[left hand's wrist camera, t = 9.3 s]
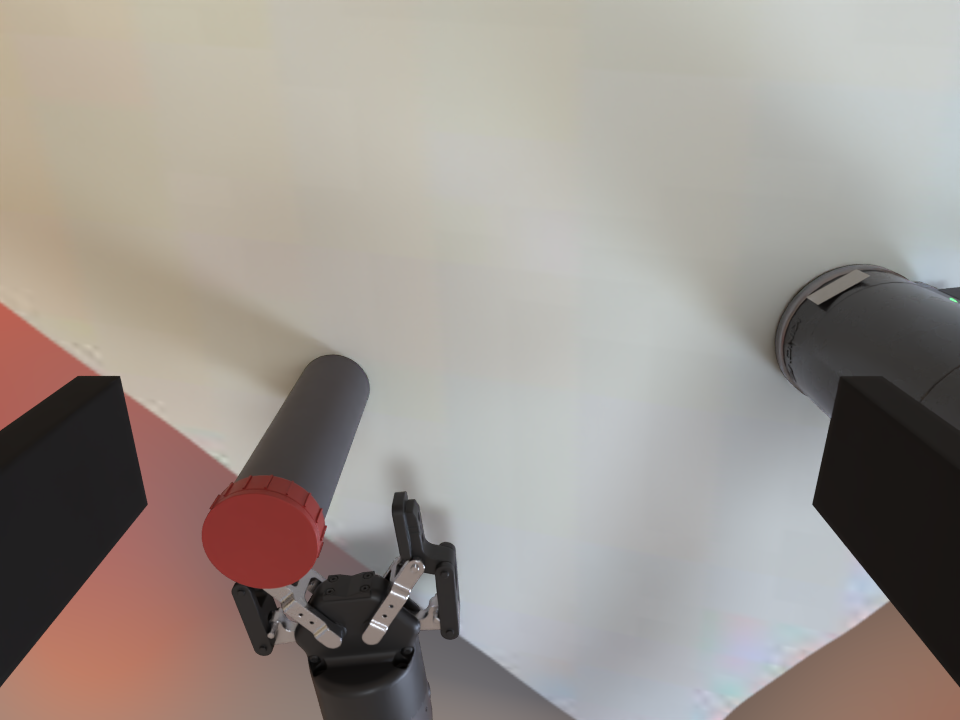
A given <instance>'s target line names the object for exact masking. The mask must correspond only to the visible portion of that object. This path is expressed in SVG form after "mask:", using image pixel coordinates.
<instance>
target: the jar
mask: <svg viewBox="0 0 960 720" xmlns="http://www.w3.org/2000/svg"><path fill="white" fill-rule="evenodd" d="M369 391H370V386H369V381H368V378H367V376H366V374H365V372H364V371H363V369H362V368H361V367H360V366H359V365H358V364H357V363H355V362H354V361H352V360H351V359H349V358H346V357H343V356H339V355H326V356H322V357H319V358H317V359H315V360H313V361H312V362H311V363H310V364H309V365H308V366H307V367H306V368H305V370H304V371H303V373H302V374H301V376H300V378H299V379H298V381H297V383H296V384H295V386H294V387H293V389H292V391H291V392H290V394H289V395H288V397H287V399H286V400H285V402H284V403H283V405H282V407H281V408H280V410H279V412H278V413H277V415H276V416H275V418H274V420H273V421H272V423H271V424H270V426H269V428H268V429H267V431H266V433H265V434H264V436H263V437H262V439H261V441H260V442H259V444H258V445H257V447H256V449H255V450H254V452H253V453H252V455H251V457H250V458H249V460H248V462H247V463H246V465H245V466H244V468H243V470H242V471H241V473H240V474H239V476H238V478H237V479H236V481H235V482H237V481H239V480H241V479H244V478H247V477H249V475H252V476H259V475H268V476H270V475H273V476H276V477H280V478H284V479H286V480H289V481H294V483H296V484H297V485H299V486H301V487H302V488H303V489H305V490H306V491H307V492H308V493H311V496H312V497H313V498H314V499H315V500H316V502H317V503H318V505H319V507H320V508H322V509H323V511H322V513H323V517H324V520H325V517H326V514H327V511H328V509H329V506H330V503H331V500H332V497H333V495H334V492H335V489H336V486H337V483H338V481H339V478H340V475H341V472H342V470H343V467H344V464H345V461H346V458H347V456H348V453H349V450H350V447H351V444H352V442H353V439H354V436H355V433H356V430H357V428H358V425H359V422H360V419H361V416H362V414H363V411H364V408H365V405H366V402H367V400H368V397H369ZM235 482H234V483H235Z"/></svg>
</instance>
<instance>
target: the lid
mask: <svg viewBox="0 0 960 720" xmlns="http://www.w3.org/2000/svg"><path fill="white" fill-rule="evenodd" d="M210 509H211V511H210V512H209V514H208V515H207V517H206V519H205V521H204V524H203V528H202V542H203V547H204V550H205V552H206V554H207V556H208V558H209V560H210V561H211V563H212V564H213V565H214V566H215V567H216V568H217V569H218V570H219V571H220V572H221V573H222V574H224V575H225V576H226V577H228V578H230V579H231V580H233V581H235V582H237V583H240V584H242V585H245V586H249V587H253V588H260V589H273V588H280V587H284V586H287V585H290V584H293V583H295V582H297V581H298V580H300V579H301V578H303V577H304V576H305V575H306V574H307V573H308V572H309V571H310V570H311V568H312V567H313V565H314V563H315V561H316V558H318V557H319V555H320V552H321V549H322V546H323V542H322V541H323V538H324V534H325V531H326V528H327V526H325V521H324V517H323V513H322V511H323V509H322V508H320V507H319V505H318V503H317V502H316V500H315V499H314V498H313V497H312V496H311V493H308V492H307V491H306V490H305V489H303V488H302V487H301V486H299V485H297V484H296V483H294V481H289V480H286V479H284V478H280V477H276V476H273V475H270V476H268V475H259V476H252V475H249V477H247V478H244V479H241V480H239V481H237V482H235V483H233V482H231V483H230V485H229V487H227V488H226V489H225V490H224V491H223V492H222V494H221V495H218V496H217V498H216V499H215V501H214V502H213V504H212V505H211V507H210Z"/></svg>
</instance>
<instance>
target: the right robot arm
mask: <svg viewBox="0 0 960 720" xmlns="http://www.w3.org/2000/svg"><path fill="white" fill-rule="evenodd" d="M775 349H776V356H777V361H778V363H779V366H780V368H781V370H782V372H783V374H784V375H785V377H786V378H787V379H788V380H789V382H791V383H792V384H793V385H794V386H795V387H796V388H797V389H798V390H799V391H800V392H802V393H803V394H804V395H806V396H808V397H809V398H810V399H811V400H812V401H813V402H814V403H815V404H816V405H817V406H818V407H819V408H820V409H821V410H822V411H823V412H824V413H825V414H826V415H828V416H829V417H830V418H831V416H832V411H833V406H834V402H835V397H836V393H837V388H838V383H839V379H840V376H883V377H884V378H886V379H887V380H888V381H890V382H891V383H893V384H894V385H895V386H897V387H898V388H900V389H901V390H903V391H904V392H905V393H907V394H908V395H910V396H911V397H912V398H914V399H915V400H917V401H918V402H920V403H921V404H922V405H924V406H925V407H927V408H928V409H930V410H931V411H932V412H934V413H935V414H937V415H938V416H939V417H941V418H942V419H944V420H945V421H947V422H948V423H949V424H951V425H952V426H954V427H955V428H956V429H958V430H959V431H960V287H957V288H947V289H937V288H935V287H932V286H930V285H928V284H925V283H923V282H911V281H910V280H908V279H907V278H905V277H904V276H902V275H900V274H898V273H895V272H893V271H891V270H889V269H886V268H883V267H879V266H875V265H851V266H845V267H841V268H838V269H835V270H832V271H830V272H827V273H825V274H823V275H821V276H820V277H818V278H816V279H815V280H813V281H812V282H810V283H809V284H808V285H807V286H805V287H804V288H803V289H802V290H801V291H800V292H799V293H798V294H797V295H796V296H795V297H794V298H793V300H792V301H791V302H790V304H789V305H788V307H787V308H786V310H785V312H784V314H783V316H782V318H781V320H780V323H779V326H778V329H777V334H776V342H775ZM392 517H393V522H394V527H395V532H396V537H397V542H398V547H399V552H400V556H399V557H396V558H395V560H394V561H393V563H392V564H391V566H390V567H389V569H388V570H387V572H386V573H385V575H384V576H383V577H382V576H378V575H375V572H374V571H372V572H363V573H360V574H356V575H353V576H348V575H330V576H328V579H327V580H326V579H325V578H324V577H323V576H321V575H320V574H319V573H317V572H316V571H315V570H313V569H312V568H311V570H310V571H309V572H308V573H307V574H306V575H305V576H304V577H303V578H301V579H300V580H298V581H297V582H295V583H293V584H290V585H287V586H284V587H280V588H273V589H260V588H253V587H249V586H245V585H242V584H240V583H237V582H236V583H235V584H234V586H233V588H232V595H233V598H234V600H235V603H236V605H237V608H238V610H239V613H240V615H241V618H242V620H243V623H244V625H245V628H246V630H247V633H248V635H249V638H250V640H251V643H252V645H253V648H254V650H255V652H256V653H257V654H259V655H262V656H266V655H269V654H271V652H272V650H273V647H274V645H277V644H284V643H291V642H296V643H297V644H298V645H299V646H300V647H301V648H302V649H303V650H304V651H305V652H306V654H307V657H308V663H309V669H310V673H311V677H312V681H313V684H314V687H315V691H316V695H317V698H318V702H319V706H320V709H321V713H322V716H323V719H324V720H432V706H431V700H430V694H431V691H430V686H429V683H428V681H427V679H426V674H425V669H424V663H423V658H422V653H421V648H420V643H419V637H418V634H419V631H421V630H441V635H442V636H443V637H444V638H445V639H449V640H451V639H455V638H457V637H458V635H459V622H460V599H459V586H458V574H457V562H456V550H455V546H454V545H453V544H451V543H449V542H444V543H441V544H440V545H434V544H431V543H429V542H428V541H427V540H426V539H425V536H424V531H423V525H422V519H421V514H420V508H419V505H418V503H417V502H416V500H415V499H412V500H408V496H407V492H396V493H395V494H394V499H393V503H392ZM423 572H424V573H429V574H434V575H435V578H436V589H437V593H436V594H435V596H434V597H432V598H431V599H430V601H429V606H428V607H427V608H426V609H424V610H420V608H419V606H418V605H417V604H416V603H415V602H414V601H412V600H411V599H410V598H409V594H410V591H411V589H412V588H413V586H414V585H415V583H416V582H417V581H418V579H419V578H420V576H421V575H422V573H423ZM306 590H308V591H310V592H311V593H312V594H313V595H312V596H311V598H310V600H309V601H308V603H307V601H306V600H305V593H306ZM273 597H274V598H275V599H277V600H278V601H279V602H280V603H281V607H282V608H281V607H279V608H277V607H276V604H275V601H274V599H273ZM283 612H285V613H286V614H287V615H289V616H290V617H291V618H293V619H294V620H295V621H297V622H295V621H291V620H289V619H288V618H287V617H286V615H285V614H284V613H283Z"/></svg>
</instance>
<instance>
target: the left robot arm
mask: <svg viewBox="0 0 960 720" xmlns="http://www.w3.org/2000/svg"><path fill="white" fill-rule="evenodd" d="M812 505H813V506H814V507H815V508H816V510H817V511H818V512H819V513H820V515H821V516H822V517H823V518H824V520H825V521H826V522H827V523H828V525H829V526H830V527H831V528H832V530H833V531H834V532H835V533H836V534H837V536H838V537H839V538H840V539H841V541H842V542H843V543H844V544H845V546H846V547H847V548H848V549H849V551H850V552H851V553H852V554H853V556H854V557H855V558H856V559H857V560H858V562H859V563H860V564H861V565H862V567H863V568H864V569H865V570H866V572H867V573H868V574H869V575H870V577H871V578H872V579H873V580H874V582H875V583H876V584H877V585H878V587H879V588H880V589H881V590H882V591H883V593H884V594H885V595H886V596H887V598H888V599H889V600H890V601H891V603H892V604H893V605H894V606H895V608H896V609H897V610H898V611H899V613H900V614H901V615H902V616H903V618H904V619H905V620H906V621H907V622H908V624H909V625H910V626H911V627H912V629H913V630H914V631H915V632H916V634H917V635H918V636H919V637H920V638H921V640H922V641H923V642H924V643H925V645H926V646H927V647H928V648H929V650H930V651H931V652H932V653H933V655H934V656H935V657H936V658H937V660H938V661H939V662H940V663H941V665H942V666H943V667H944V668H945V670H946V671H947V672H948V673H949V675H950V676H951V677H952V678H953V679H954V681H955V682H956V683H957V684H958V686H959V687H960V431H959V430H958V429H956V428H955V427H954V426H952V425H951V424H949V423H948V422H947V421H945V420H944V419H942V418H941V417H939V416H938V415H937V414H935V413H934V412H932V411H931V410H930V409H928V408H927V407H925V406H924V405H922V404H921V403H920V402H918V401H917V400H915V399H914V398H912V397H911V396H910V395H908V394H907V393H905V392H904V391H903V390H901V389H900V388H898V387H897V386H895V385H894V384H893V383H891V382H890V381H888V380H887V379H886V378H884V377H883V376H840V379H839V383H838V388H837V393H836V397H835V402H834V406H833V411H832V416H831V420H830V425H829V430H828V434H827V439H826V444H825V448H824V453H823V457H822V462H821V467H820V471H819V476H818V481H817V485H816V490H815V495H814V499H813V504H812ZM146 506H147V499H146V495H145V490H144V485H143V481H142V476H141V471H140V467H139V462H138V457H137V453H136V448H135V444H134V439H133V434H132V430H131V425H130V421H129V416H128V411H127V406H126V402H125V397H124V393H123V388H122V383H121V379H120V376H77V377H76V378H74V379H73V380H72V381H70V382H69V383H67V384H66V385H65V386H63V387H62V388H60V389H59V390H57V391H56V392H55V393H53V394H52V395H50V396H49V397H48V398H46V399H45V400H43V401H42V402H40V403H39V404H38V405H36V406H35V407H33V408H32V409H31V410H29V411H28V412H26V413H25V414H23V415H22V416H21V417H19V418H18V419H16V420H15V421H13V422H12V423H11V424H9V425H8V426H6V427H5V428H4V429H2V430H1V431H0V687H1V686H2V684H3V683H4V682H5V681H6V679H7V678H8V677H9V676H10V675H11V673H12V672H13V671H14V670H15V668H16V667H17V666H18V665H19V663H20V662H21V661H22V660H23V658H24V657H25V656H26V655H27V653H28V652H29V651H30V650H31V648H32V647H33V646H34V645H35V644H36V642H37V641H38V640H39V639H40V637H41V636H42V635H43V634H44V632H45V631H46V630H47V629H48V627H49V626H50V625H51V624H52V622H53V621H54V620H55V619H56V618H57V616H58V615H59V614H60V613H61V611H62V610H63V609H64V608H65V606H66V605H67V604H68V603H69V601H70V600H71V599H72V598H73V596H74V595H75V594H76V593H77V591H78V590H79V589H80V588H81V587H82V585H83V584H84V583H85V582H86V580H87V579H88V578H89V577H90V575H91V574H92V573H93V572H94V570H95V569H96V568H97V567H98V565H99V564H100V563H101V562H102V560H103V559H104V558H105V557H106V555H107V554H108V553H109V552H110V551H111V549H112V548H113V547H114V546H115V544H116V543H117V542H118V541H119V539H120V538H121V537H122V536H123V534H124V533H125V532H126V531H127V530H128V528H129V527H130V526H131V524H132V523H133V522H134V521H135V520H136V518H137V517H138V516H139V515H140V513H141V512H142V511H143V510H144V508H145V507H146Z"/></svg>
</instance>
